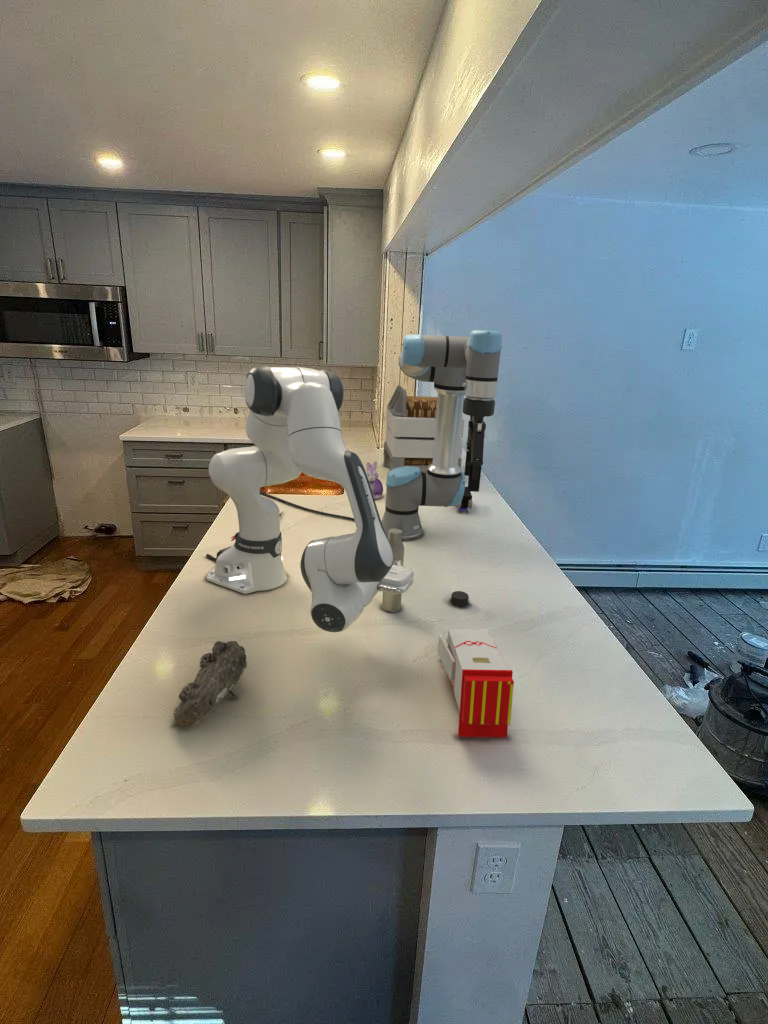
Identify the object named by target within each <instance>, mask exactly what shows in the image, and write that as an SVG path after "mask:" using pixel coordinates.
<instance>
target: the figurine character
mask: <svg viewBox="0 0 768 1024" xmlns="http://www.w3.org/2000/svg"><path fill="white" fill-rule="evenodd" d="M467 489H468V486H465V490H464V494H463V498H462V500H461V502H460V504H459V505H457V506H455V508H456V509H458V512H459V513H462V511H465V512H466V513H469V510H468V509H470V510H471V509H473V507H474V503H473V502H474V501H473V495H472V491H467Z"/></svg>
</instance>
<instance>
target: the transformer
mask: <svg viewBox="0 0 768 1024" xmlns="http://www.w3.org/2000/svg"><path fill="white" fill-rule="evenodd" d="M407 394H408V393H407V390H406V389H404V388H403V387H402V385H399V384H398V385H397V386H396V388H395V390H394V392H393V394H392V395H391V398H390V400H389V402H388V404H387V405H386V413H385V414H386V415H385V423H386V428H385V438H384V442H383V466H384V467H388V468H389V472H390V471H391V470H392V469H395V468H398V467H404V466H413V467H428V466H429V465H430V464H432V462H433V450H434V437H435V425H436V412H437V400H438V396H415V395H414V396H413V395H412V396H411V395H407ZM464 429H465V419H464V418H462V424H461V434H460V445H459V455H458V466H459V467H460V468H461V469H462V461H463V460H462V453H463V442H464V441H463V440H462V439H463V438H464V431H465V430H464Z"/></svg>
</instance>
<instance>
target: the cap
mask: <svg viewBox="0 0 768 1024" xmlns="http://www.w3.org/2000/svg"><path fill="white" fill-rule="evenodd" d="M469 598H470V597H469V594H468V593H467V592H465V591H461V590H455V591H453V592H451V595H450V604H451V605H452V606H454V607H457V608H464V607H467V606H468V604H469Z"/></svg>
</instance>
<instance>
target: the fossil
mask: <svg viewBox="0 0 768 1024" xmlns="http://www.w3.org/2000/svg"><path fill="white" fill-rule="evenodd" d="M247 666H248V661H247V652H246V648H244V646H242V645H240V644H239V642H237V641H236V640H229V641H227V642H225V641H221V640H217V641H216V642H214V644H213V646H212V648H211V652H206V653H204V654H203V655H202V656H201V657H200V661H199V667H200V669H199V670H198V673H197V674H196V676H195V678H194V680H193V682H189V683H187V684H186V686H184V687H182V689H181V690H180V692H179V694H178V699H179V700H180V701H181V702H180V703H179V705H178V706H177V707H176V708H175V709H174V712H175V713H173V716H174V717H173V718H174V723H175V725H176V724H177V725H180V726H181V727H187V726H192V725H198V724H200V723H201V721H203V719H204V718H206V717H207V716H209V715H210V713H211V712H212V711H213V710H214V709H215V708H216V707H218V705H220V704H221V703H222V701H223V700H224V697H226V696H227V695H228V694H230V695H231V696H232V697H233V698H235V697H236V694H235V693H234V692H233V691H232V688H233V686H235V685H237V684H238V682H239V681H240V680H241V676H242V674H243V673H244V670H245V669H247Z"/></svg>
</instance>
